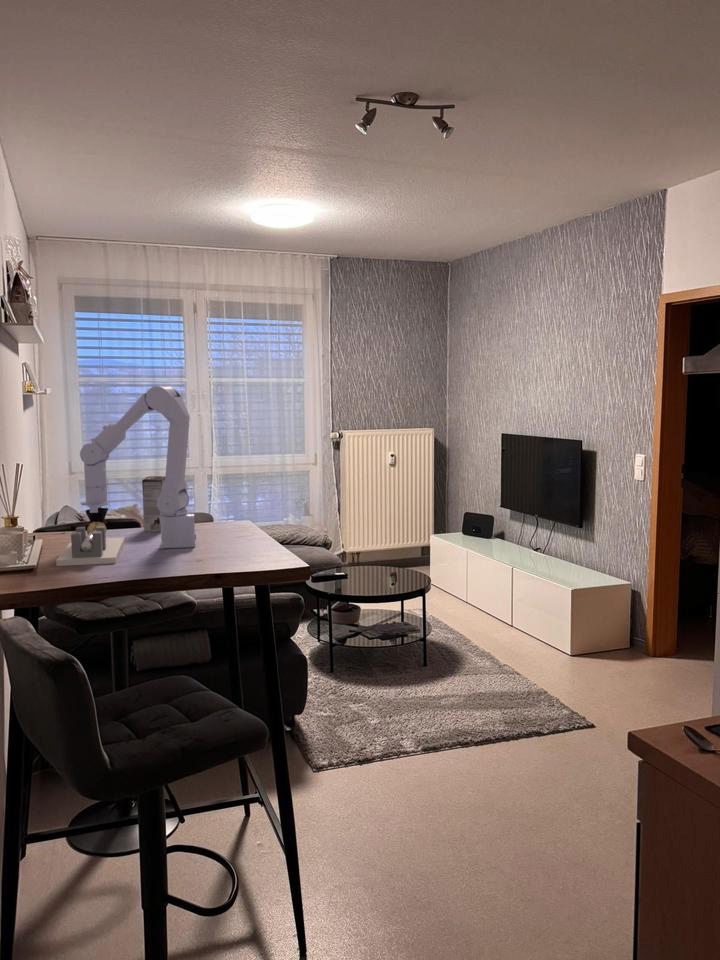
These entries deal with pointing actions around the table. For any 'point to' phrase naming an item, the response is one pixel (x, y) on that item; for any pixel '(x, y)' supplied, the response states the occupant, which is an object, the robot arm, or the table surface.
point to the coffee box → (152, 503)
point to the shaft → (90, 535)
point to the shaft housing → (91, 549)
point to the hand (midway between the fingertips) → (98, 534)
